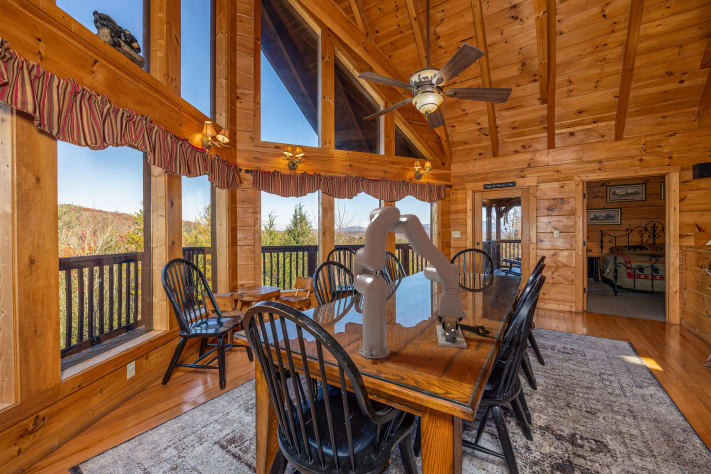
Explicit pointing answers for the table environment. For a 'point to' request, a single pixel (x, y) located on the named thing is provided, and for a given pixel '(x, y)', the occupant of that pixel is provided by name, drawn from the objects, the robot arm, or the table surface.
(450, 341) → the dark grey rounded block
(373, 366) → the table surface
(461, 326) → the wrench
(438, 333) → the light grey rectangular plate
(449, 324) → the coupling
